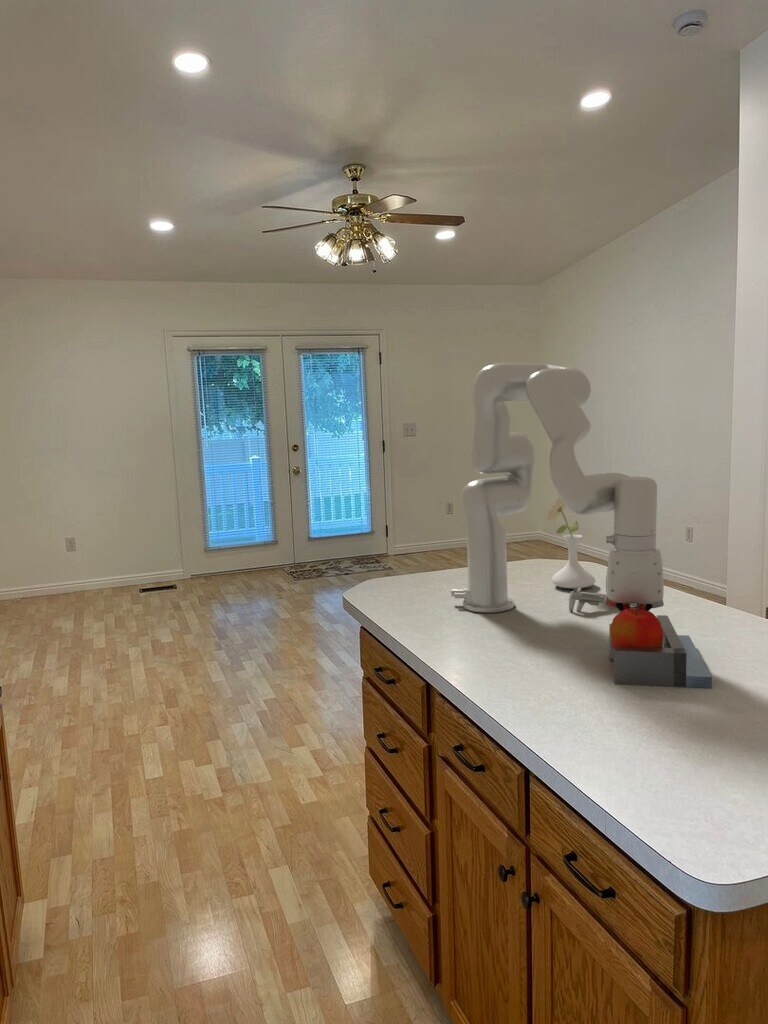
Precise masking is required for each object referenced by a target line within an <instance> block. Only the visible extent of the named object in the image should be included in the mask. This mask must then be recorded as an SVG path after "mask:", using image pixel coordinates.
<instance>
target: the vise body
mask: <svg viewBox="0 0 768 1024" xmlns="http://www.w3.org/2000/svg"><path fill="white" fill-rule="evenodd" d="M656 617H657V618H658V619H659V621H660V623H661V626H662V629H663V632H664V636H663V645H662V648H659V647H628V646H614V659H613V681H614V684H615V685H625V686H626V685H629V686H631V685H632V686H647V687H649V686H650V687H651V686H653V687H673V688H674V687H675V688H677V687H678V688H694V689H695V688H697V689H713V688H712V687H713V686H712V684H713V680H712V679H713V677H712V675H711V673H710V671H709V669H708V668H707V665H706V663H705V662H704V660H703V658H702V656H701V655H700V653H699V651H698V649H697V647H696V646H695V644H694V643H693V641H692V639H691V636H690V635H687V634H686V635H683V634H678V633H677V631H676V629H675V627H674V625H673V623H672V622H671V619H670V618H669V616H668V615H667V614H666V615H664V614H662V615H659V614H658V615H656Z"/></svg>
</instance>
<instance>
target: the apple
mask: <svg viewBox="0 0 768 1024" xmlns="http://www.w3.org/2000/svg"><path fill="white" fill-rule="evenodd" d="M610 624H611V627H610V635H611V643H612V646H613V649H614V646H628V647H659V648H662V645H663V636H664V632H663V629H662V626H661V623H660V621H659V619H658V618H657V615H655V614H654V613H653V612H651V611H650V610H649V611H646V610H640V609H637V606H635V608H630V609H625V610H623V611H620V612H619V613H617V614H616V615H615V616H614V617H613V619H612V622H611V623H610Z"/></svg>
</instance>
